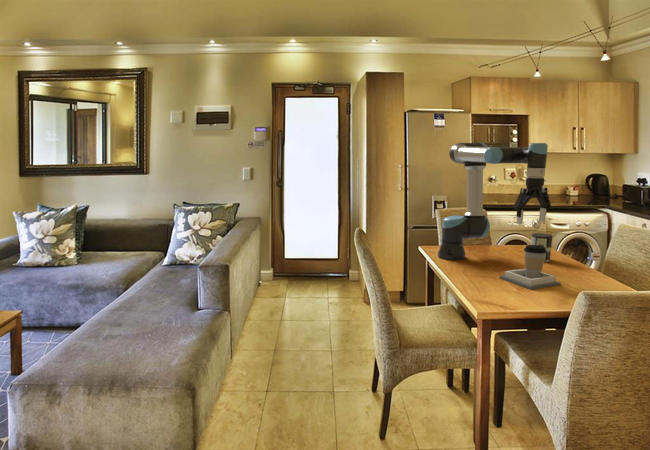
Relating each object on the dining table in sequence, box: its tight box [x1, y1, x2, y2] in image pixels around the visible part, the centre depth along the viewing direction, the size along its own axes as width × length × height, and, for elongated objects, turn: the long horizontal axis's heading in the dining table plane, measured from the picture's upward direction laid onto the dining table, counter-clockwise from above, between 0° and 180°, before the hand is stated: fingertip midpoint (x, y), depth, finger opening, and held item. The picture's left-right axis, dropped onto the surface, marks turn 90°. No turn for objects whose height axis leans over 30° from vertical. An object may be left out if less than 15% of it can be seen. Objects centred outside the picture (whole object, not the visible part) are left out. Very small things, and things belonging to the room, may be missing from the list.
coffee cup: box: [523, 244, 547, 279], centre depth 189 cm, size 9×9×15 cm
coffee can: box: [530, 232, 553, 263], centre depth 227 cm, size 10×10×14 cm
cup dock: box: [499, 268, 562, 291], centre depth 189 cm, size 18×18×4 cm
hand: (530, 223), depth 190 cm, fingers open, 13 cm apart
